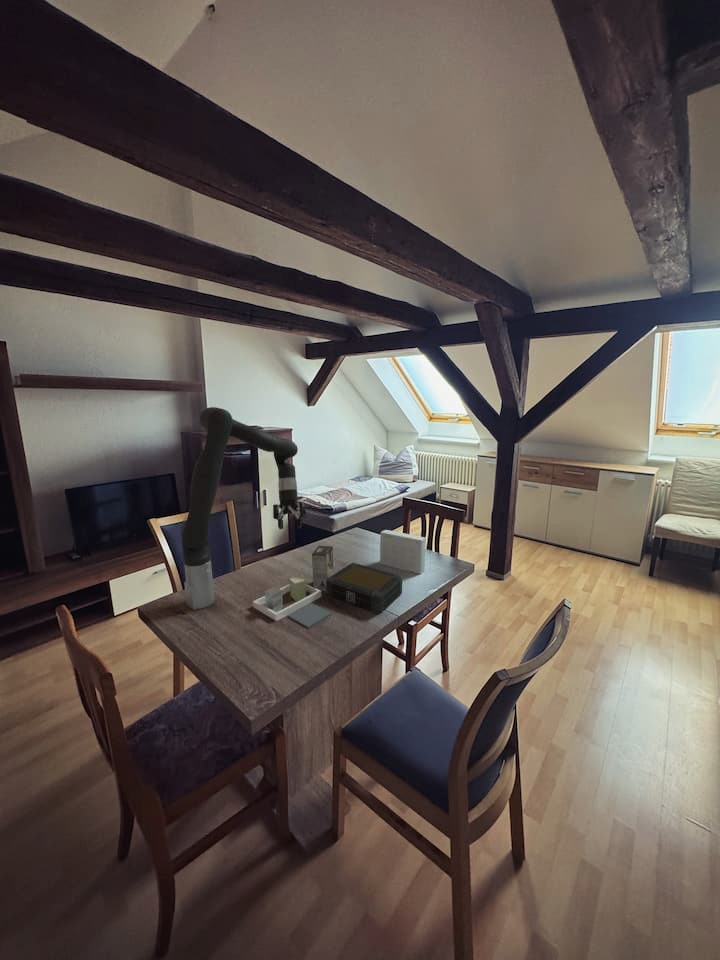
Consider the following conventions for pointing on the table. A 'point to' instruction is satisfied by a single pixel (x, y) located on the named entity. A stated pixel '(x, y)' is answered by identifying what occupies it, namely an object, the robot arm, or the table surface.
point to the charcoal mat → (309, 615)
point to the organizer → (288, 610)
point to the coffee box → (322, 566)
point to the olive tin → (297, 588)
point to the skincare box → (402, 551)
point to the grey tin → (274, 599)
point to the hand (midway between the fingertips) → (290, 528)
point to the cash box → (364, 587)
